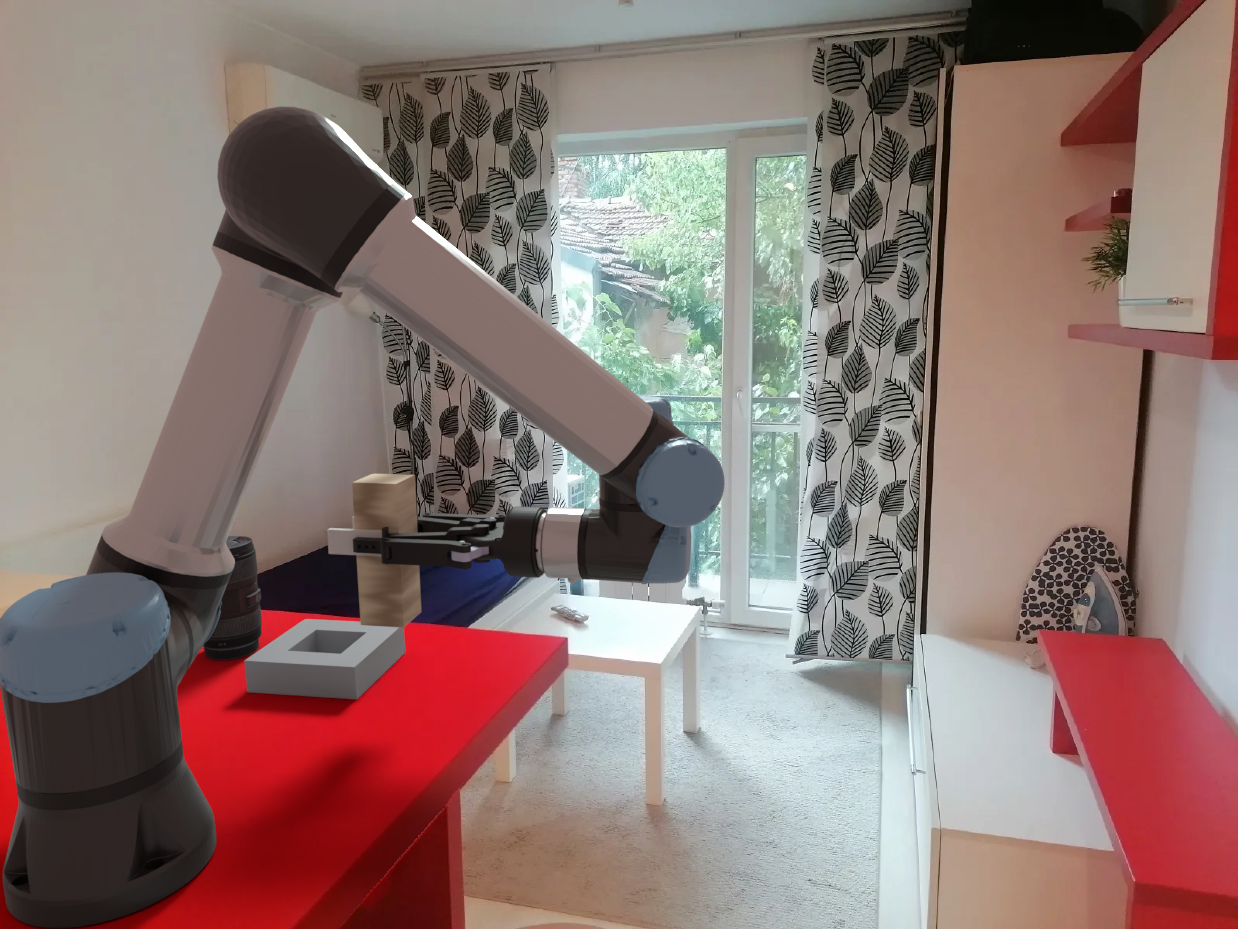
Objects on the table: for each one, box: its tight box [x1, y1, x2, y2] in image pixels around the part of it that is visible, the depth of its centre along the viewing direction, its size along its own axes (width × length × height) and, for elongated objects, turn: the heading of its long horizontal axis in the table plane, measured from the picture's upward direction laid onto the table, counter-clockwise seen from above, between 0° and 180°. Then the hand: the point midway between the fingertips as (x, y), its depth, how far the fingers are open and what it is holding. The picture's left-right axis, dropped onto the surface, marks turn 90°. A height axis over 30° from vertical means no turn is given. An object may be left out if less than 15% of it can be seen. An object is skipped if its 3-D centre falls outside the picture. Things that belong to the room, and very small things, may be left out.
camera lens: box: [202, 535, 263, 661], centre depth 116 cm, size 8×8×15 cm
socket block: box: [243, 618, 406, 700], centre depth 110 cm, size 14×14×4 cm
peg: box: [351, 473, 422, 629], centre depth 97 cm, size 5×5×16 cm
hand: (342, 534), depth 98 cm, fingers closed on peg, 5 cm apart
